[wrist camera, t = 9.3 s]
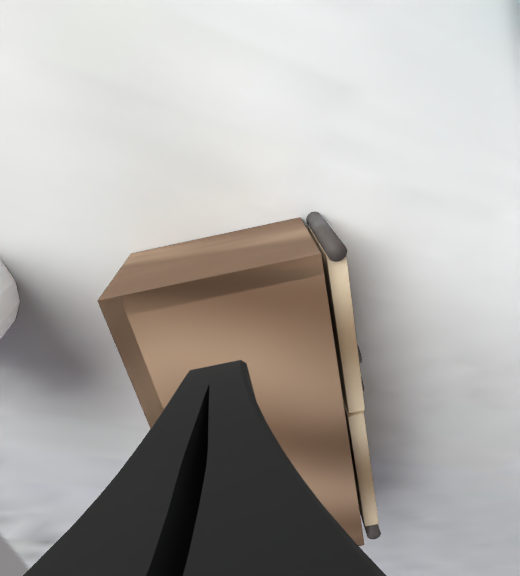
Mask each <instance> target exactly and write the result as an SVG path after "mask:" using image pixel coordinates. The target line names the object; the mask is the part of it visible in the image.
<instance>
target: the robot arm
mask: <svg viewBox="0 0 520 576" xmlns="http://www.w3.org/2000/svg"><path fill="white" fill-rule="evenodd" d="M23 576H386V575H385V574H384V573H383V572H382V571H381V570H380V569H379V568H378V566H377V565H376V564H375V563H374V562H373V561H372V560H371V559H370V558H369V557H368V556H367V555H366V554H365V553H364V552H363V551H362V550H361V549H360V547H359V546H358V545H357V544H356V543H355V542H354V541H353V539H352V538H351V537H350V536H349V535H348V534H347V532H346V531H345V530H344V529H343V528H342V527H341V525H340V524H339V523H338V522H337V521H336V520H335V519H334V517H333V516H332V515H331V514H330V513H329V512H328V510H327V509H326V508H325V507H324V506H323V505H322V503H321V502H320V501H319V499H318V498H317V497H316V496H315V494H314V493H313V492H312V490H311V489H310V488H309V486H308V485H307V484H306V483H305V481H304V480H303V478H302V477H301V476H300V474H299V473H298V471H297V470H296V469H295V467H294V466H293V464H292V463H291V461H290V460H289V458H288V457H287V455H286V454H285V452H284V451H283V449H282V448H281V446H280V444H279V443H278V441H277V439H276V438H275V436H274V434H273V433H272V431H271V429H270V427H269V426H268V424H267V422H266V420H265V418H264V416H263V414H262V412H261V410H260V408H259V406H258V404H257V401H256V398H255V394H254V390H253V386H252V382H251V379H250V375H249V371H248V367H247V363H245V362H244V361H242V360H238V361H233V362H228V363H223V364H218V365H213V366H208V367H203V368H198V369H193V370H190V371H189V372H188V373H187V375H186V376H185V378H184V379H183V381H182V382H181V384H180V385H179V387H178V388H177V390H176V392H175V393H174V395H173V396H172V398H171V399H170V401H169V402H168V404H167V406H166V407H165V409H164V410H163V412H162V413H161V415H160V416H159V418H158V419H157V421H156V422H155V423H154V425H153V426H152V428H151V429H150V431H149V432H148V434H147V435H146V437H145V438H144V439H143V441H142V442H141V444H140V445H139V446H138V448H137V449H136V450H135V452H134V453H133V454H132V456H131V457H130V458H129V460H128V461H127V462H126V464H125V465H124V466H123V468H122V469H121V470H120V472H119V473H118V474H117V475H116V477H115V478H114V479H113V480H112V481H111V483H110V484H109V485H108V486H107V487H106V489H105V490H104V491H103V492H102V493H101V495H100V496H99V497H98V498H97V499H96V500H95V501H94V502H93V504H92V505H91V506H90V507H89V508H88V509H87V510H86V511H85V513H84V514H83V515H82V516H81V517H80V518H79V519H78V520H77V521H76V523H75V524H74V525H73V526H72V527H71V528H70V529H69V530H68V531H67V532H66V533H65V534H64V535H63V536H62V537H61V538H60V539H59V540H58V541H57V542H56V543H55V544H54V545H53V546H52V547H51V548H50V549H49V550H48V551H47V552H46V553H45V554H44V555H43V556H42V557H41V558H40V559H39V560H38V561H37V562H36V563H35V564H34V565H33V566H32V567H31V568H30V569H29V570H28V571H27V572H26V573H25V574H24V575H23Z"/></svg>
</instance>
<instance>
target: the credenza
mask: <svg viewBox="0 0 520 576" xmlns="http://www.w3.org/2000/svg"><path fill="white" fill-rule="evenodd" d="M306 221H307V224H308V225H309V226H308V228H309V232H308V230H307V228H306V227H305V225H304V223H303V221H302V220H301V218H295V219H290V220H286V221H281V222H276V223H272V224H267V225H262V226H258V227H253V228H248V229H244V230H239V231H234V232H230V233H225V234H220V235H216V236H211V237H206V238H202V239H197V240H192V241H188V242H183V243H178V244H173V245H169V246H164V247H159V248H155V249H150V250H145V251H141V252H136V253H131V254H130V256H129V257H128V259H127V260H126V261H125V263H124V264H123V266H122V267H121V268H120V270H119V271H118V273H117V274H116V275H115V277H114V278H113V280H112V281H111V282H110V284H109V285H108V287H107V288H106V289H105V291H104V292H103V294H102V295H101V296H100V298H99V299H98V303H99V306H100V308H101V310H102V313H103V315H104V318H105V320H106V322H107V325H108V327H109V330H110V332H111V334H112V337H113V339H114V342H115V344H116V346H117V349H118V351H119V354H120V356H121V358H122V361H123V363H124V366H125V368H126V370H127V373H128V375H129V378H130V380H131V382H132V385H133V387H134V390H135V392H136V395H137V397H138V399H139V402H140V404H141V407H142V409H143V411H144V414H145V416H146V419H147V421H148V423H149V426H150V428H152V426H153V425H154V423H155V422H156V421H157V419H158V418H159V416H160V415H161V413H162V412H163V410H164V409H165V407H166V406H167V404H168V402H169V401H170V399H171V398H172V396H173V395H174V393H175V392H176V390H177V388H178V387H179V385H180V384H181V382H182V381H183V379H184V378H185V376H186V375H187V373H188V372H189V371H190V370H193V369H198V368H203V367H208V366H213V365H218V364H223V363H228V362H233V361H238V360H242V361H244V362H245V363H247V367H248V371H249V375H250V379H251V382H252V386H253V390H254V394H255V398H256V401H257V404H258V406H259V408H260V410H261V412H262V414H263V416H264V418H265V420H266V422H267V424H268V426H269V427H270V429H271V431H272V433H273V434H274V436H275V438H276V439H277V441H278V443H279V444H280V446H281V448H282V449H283V451H284V452H285V454H286V455H287V457H288V458H289V460H290V461H291V463H292V464H293V466H294V467H295V469H296V470H297V471H298V473H299V474H300V476H301V477H302V478H303V480H304V481H305V483H306V484H307V485H308V486H309V488H310V489H311V490H312V492H313V493H314V494H315V496H316V497H317V498H318V499H319V501H320V502H321V503H322V505H323V506H324V507H325V508H326V509H327V510H328V512H329V513H330V514H331V515H332V516H333V517H334V519H335V520H336V521H337V522H338V523H339V524H340V525H341V527H342V528H343V529H344V530H345V531H346V532H347V534H348V535H349V536H350V537H351V538H352V539H353V541H354V542H355V543H356V544H357V545H358V546H362V545H364V539H363V532H362V525H361V518H360V512H359V505H358V498H357V491H356V485H355V478H354V471H353V465H352V458H351V451H350V444H349V438H348V431H347V424H346V417H345V411H344V404H343V398H344V401H345V404H346V406H347V409H348V412H349V413H353V412H358V411H363V410H365V406H364V398H363V390H362V382H361V373H360V365H359V363H361V362H362V359H361V353H360V350H359V347H358V345H357V340H356V332H355V324H354V316H353V307H352V299H351V291H350V283H349V274H348V266H347V258H346V254H347V249H346V247H345V246H344V244H343V243H342V242H341V240H340V239H339V238H338V237H337V235H336V234H335V233H334V232H333V230H332V229H331V228H330V226H329V225H328V224H327V223H326V221H325V220H324V219H323V217H322V216H321V215H320V214H319V213H318V212H311V213H310V214H309V215H308V216H307V219H306ZM342 396H343V397H342Z"/></svg>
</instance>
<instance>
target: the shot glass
mask: <svg viewBox="0 0 520 576" xmlns="http://www.w3.org/2000/svg"><path fill="white" fill-rule="evenodd" d="M19 304H20V300H19V295H18V291H17V286H16V282H15V280H14V278H13V277H12V275H11V274H10V272H9V271H8V269H7V268H6V266H5V265H4V264H3V262H2V261H1V260H0V339H1V338H2V337H3V335H4V334H5V333H6V331H7V330H8V329H9V328H10V326H11V325H12V324H13V322H14V321H15V319H16V315H17V311H18V308H19Z"/></svg>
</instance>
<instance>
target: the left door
mask: <svg viewBox="0 0 520 576" xmlns="http://www.w3.org/2000/svg"><path fill="white" fill-rule="evenodd" d="M361 382H362V378H361ZM362 390H363V391H364V386H363V382H362ZM342 397H343V396H342ZM343 404H344V411H345V417H346V424H347V431H348V438H349V444H350V451H351V458H352V465H353V471H354V478H355V485H356V491H357V498H358V505H359V511H360V514H361V517H362V521H363V524H364V527H365V530H366V534H367V537H368V538H370V539H376V538H378V537H379V536H380V535H381V532H380V530H379V527H378V524H379V523H378V515H377V508H376V500H375V493H374V485H373V478H372V470H371V463H370V455H369V448H368V441H367V433H366V426H365V418H364V413H363V411H358V412H353V413H349V412H348V409H347V406H346V404H345V401H344V398H343Z"/></svg>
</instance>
